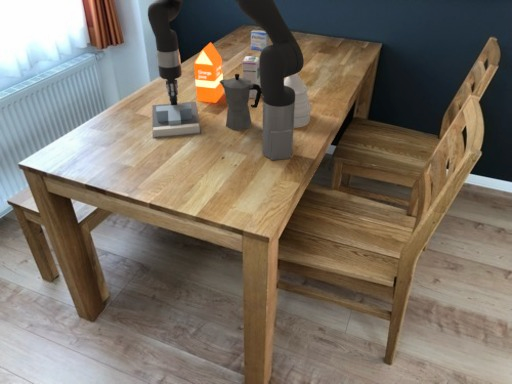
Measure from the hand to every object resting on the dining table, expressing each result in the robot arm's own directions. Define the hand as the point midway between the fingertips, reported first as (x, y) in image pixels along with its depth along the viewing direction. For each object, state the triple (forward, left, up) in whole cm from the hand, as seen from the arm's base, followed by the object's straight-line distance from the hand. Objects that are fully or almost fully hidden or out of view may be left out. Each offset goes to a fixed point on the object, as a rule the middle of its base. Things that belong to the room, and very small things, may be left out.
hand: (174, 109), depth 157 cm
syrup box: (+10, -30, -2) cm, 32 cm away
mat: (-5, 0, -1) cm, 5 cm away
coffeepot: (-14, -22, -2) cm, 26 cm away
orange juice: (+11, -14, -2) cm, 18 cm away
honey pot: (-13, -40, -2) cm, 42 cm away
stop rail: (-16, 0, -1) cm, 16 cm away
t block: (-8, 0, -1) cm, 8 cm away
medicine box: (+64, -44, -2) cm, 78 cm away
